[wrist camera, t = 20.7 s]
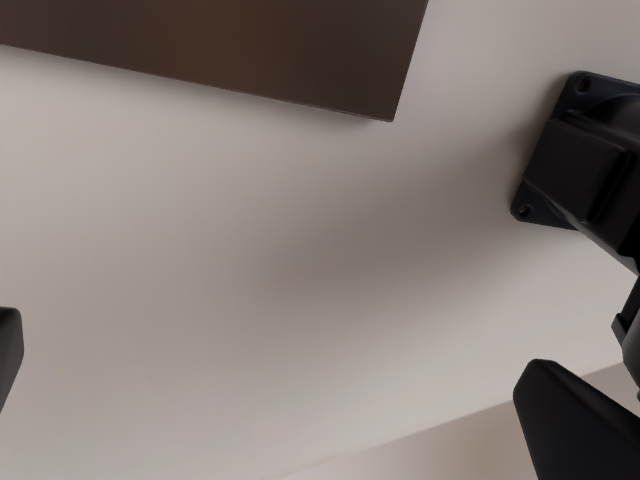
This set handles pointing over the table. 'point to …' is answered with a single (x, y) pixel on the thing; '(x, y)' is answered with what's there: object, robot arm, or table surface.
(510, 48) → the table surface
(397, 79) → the board
